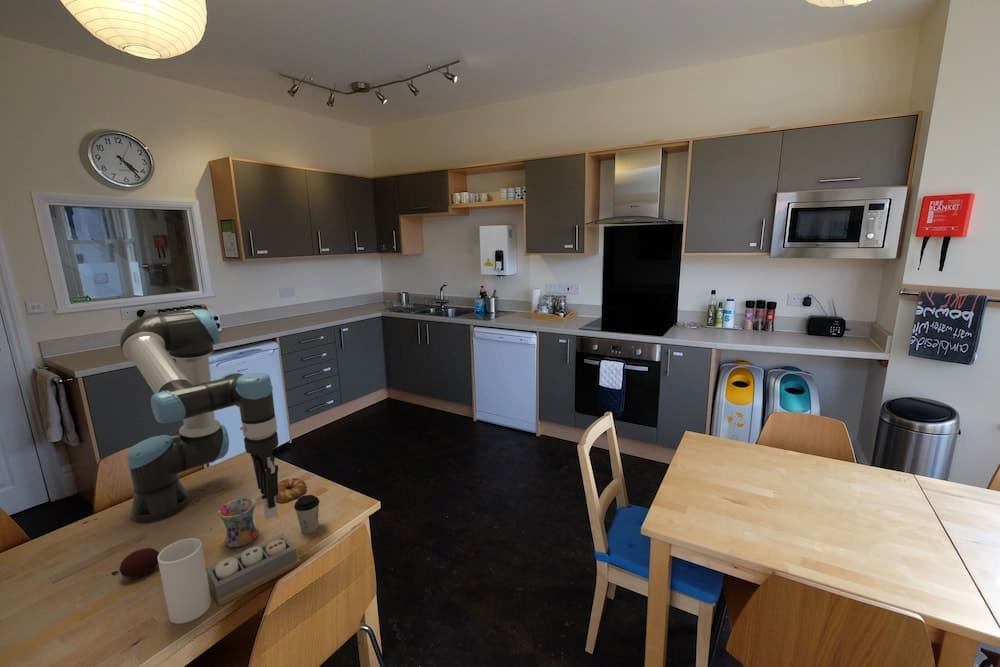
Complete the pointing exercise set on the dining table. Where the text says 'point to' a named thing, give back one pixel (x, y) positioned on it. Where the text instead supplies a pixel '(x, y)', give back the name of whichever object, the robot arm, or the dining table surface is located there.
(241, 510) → the mug
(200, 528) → the dining table surface
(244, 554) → the button
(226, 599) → the console
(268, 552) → the button
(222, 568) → the button
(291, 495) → the bagel
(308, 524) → the coffee cup
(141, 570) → the potato
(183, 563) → the cup
